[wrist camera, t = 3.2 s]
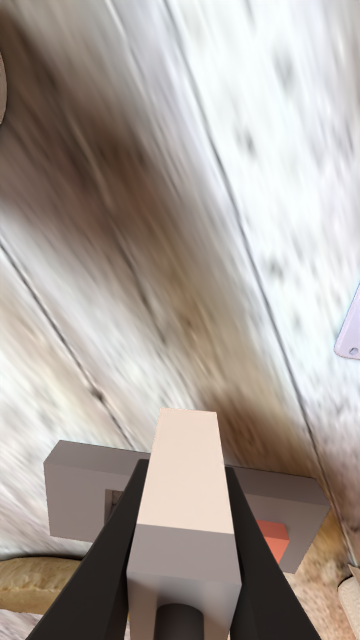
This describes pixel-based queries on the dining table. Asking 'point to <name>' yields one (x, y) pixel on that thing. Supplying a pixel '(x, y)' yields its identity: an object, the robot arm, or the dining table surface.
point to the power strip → (118, 465)
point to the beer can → (2, 89)
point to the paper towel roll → (351, 600)
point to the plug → (184, 536)
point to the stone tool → (33, 582)
